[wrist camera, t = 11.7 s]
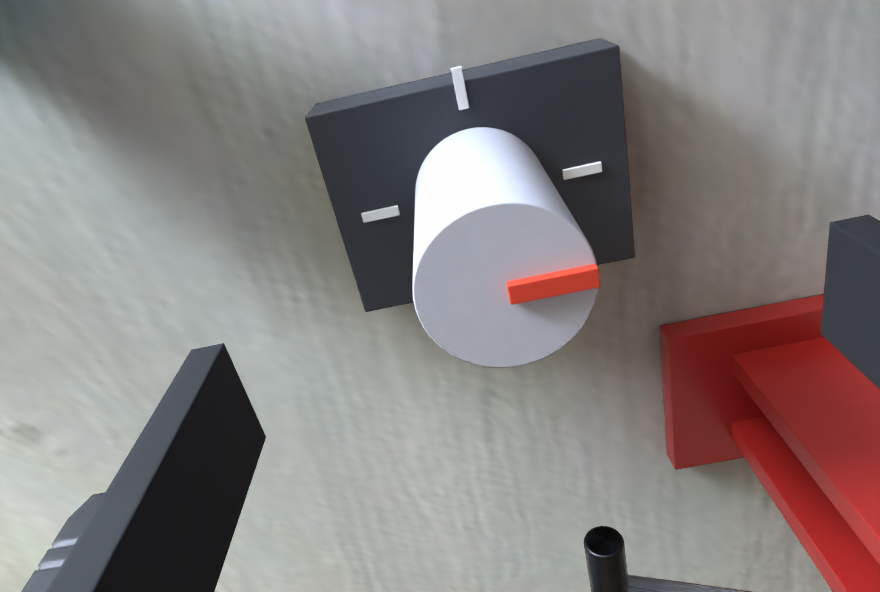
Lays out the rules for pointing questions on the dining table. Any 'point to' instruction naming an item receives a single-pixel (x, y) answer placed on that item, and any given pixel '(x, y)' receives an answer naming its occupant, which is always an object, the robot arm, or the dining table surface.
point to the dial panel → (463, 107)
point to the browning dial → (497, 253)
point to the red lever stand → (783, 425)
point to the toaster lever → (625, 568)
